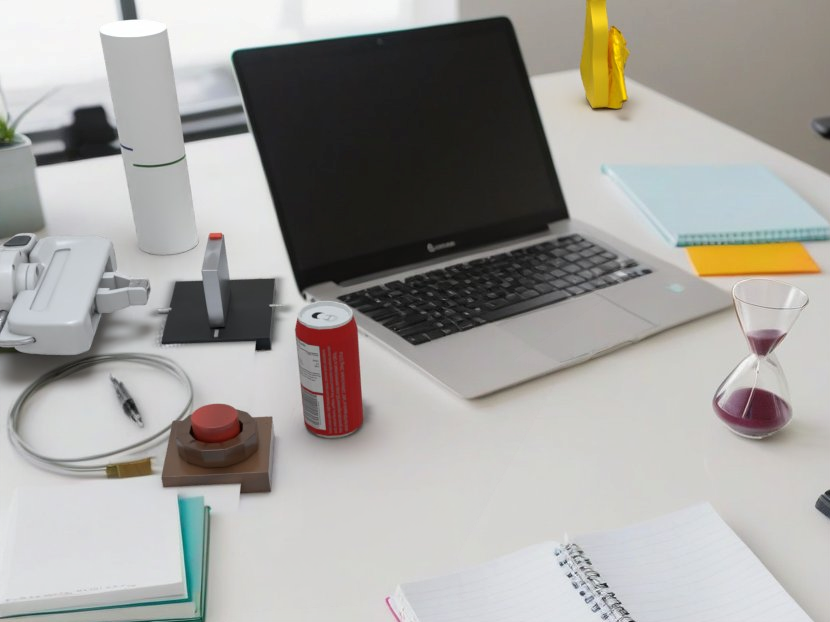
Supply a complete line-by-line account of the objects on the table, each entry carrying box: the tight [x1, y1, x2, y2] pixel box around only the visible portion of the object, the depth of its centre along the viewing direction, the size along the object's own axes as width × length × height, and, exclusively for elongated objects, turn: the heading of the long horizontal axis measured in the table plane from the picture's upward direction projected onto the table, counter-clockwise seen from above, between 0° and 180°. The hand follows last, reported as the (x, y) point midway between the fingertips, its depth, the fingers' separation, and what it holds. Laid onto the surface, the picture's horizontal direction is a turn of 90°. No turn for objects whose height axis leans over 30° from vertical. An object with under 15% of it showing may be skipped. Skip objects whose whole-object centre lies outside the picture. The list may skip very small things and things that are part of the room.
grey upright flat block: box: [201, 232, 231, 327], centre depth 123 cm, size 9×2×7 cm, turn 7°
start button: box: [191, 403, 240, 443], centre depth 101 cm, size 4×4×2 cm
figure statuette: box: [579, 0, 631, 110], centre depth 182 cm, size 18×8×22 cm, turn 8°
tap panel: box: [157, 278, 284, 352], centre depth 125 cm, size 14×13×2 cm
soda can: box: [294, 300, 364, 439], centre depth 106 cm, size 6×6×12 cm
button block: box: [160, 408, 276, 495], centre depth 103 cm, size 9×9×4 cm
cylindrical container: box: [98, 19, 199, 256], centre depth 134 cm, size 7×7×25 cm
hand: (148, 290), depth 119 cm, fingers closed
